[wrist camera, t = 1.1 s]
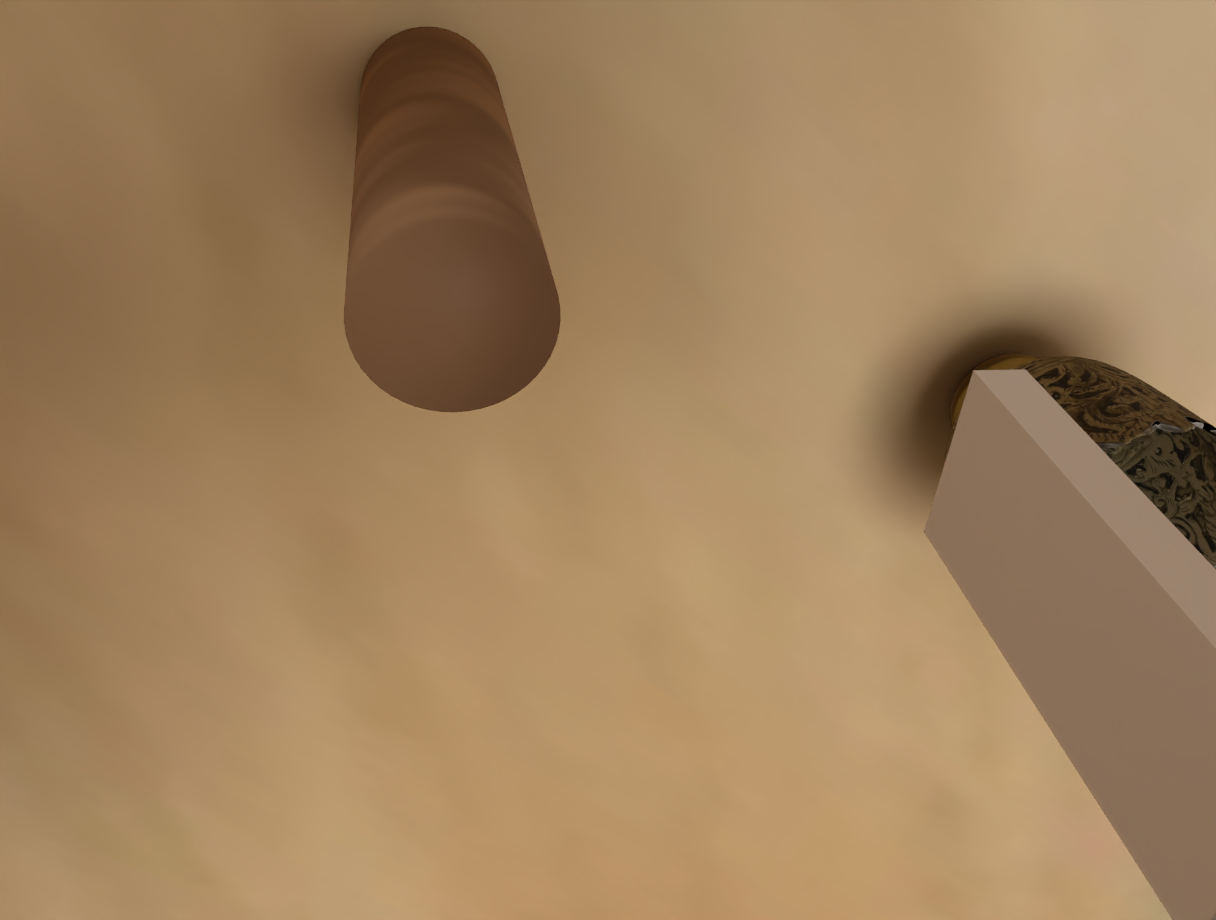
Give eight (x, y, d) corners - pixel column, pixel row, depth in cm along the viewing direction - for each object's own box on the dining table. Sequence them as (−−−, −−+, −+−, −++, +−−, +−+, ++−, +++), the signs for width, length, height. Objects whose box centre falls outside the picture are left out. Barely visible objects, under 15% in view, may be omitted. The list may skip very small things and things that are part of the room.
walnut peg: (364, 164, 27) (350, 414, 18) (356, 23, 26) (337, 218, 16) (497, 166, 28) (555, 409, 18) (500, 29, 26) (566, 220, 16)
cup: (844, 454, 35) (945, 622, 29) (968, 259, 32) (1115, 399, 26) (1017, 507, 38) (1145, 670, 32) (1149, 331, 35) (1324, 475, 28)
